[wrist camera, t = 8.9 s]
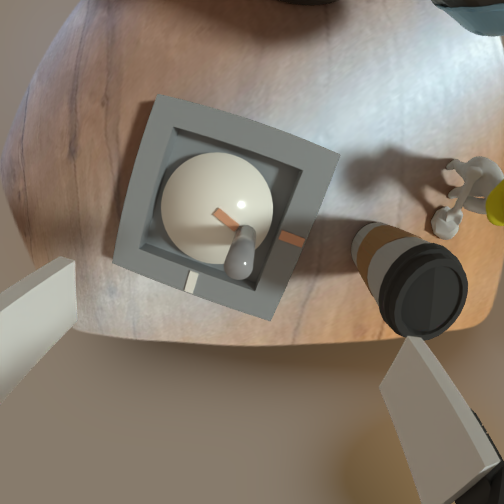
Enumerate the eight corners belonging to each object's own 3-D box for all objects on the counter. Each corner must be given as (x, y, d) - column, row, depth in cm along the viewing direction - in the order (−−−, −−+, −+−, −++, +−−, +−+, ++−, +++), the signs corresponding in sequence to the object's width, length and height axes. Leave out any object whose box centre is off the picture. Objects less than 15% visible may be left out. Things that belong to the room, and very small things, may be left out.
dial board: (167, 99, 30) (157, 93, 26) (333, 155, 31) (341, 154, 28) (123, 254, 36) (111, 263, 32) (270, 308, 37) (270, 322, 34)
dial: (146, 214, 33) (99, 239, 22) (210, 130, 30) (182, 117, 19) (225, 279, 35) (209, 329, 24) (295, 201, 32) (310, 223, 21)
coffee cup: (344, 283, 35) (384, 356, 21) (338, 218, 33) (388, 261, 19) (403, 272, 35) (465, 332, 20) (402, 209, 32) (476, 243, 18)
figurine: (402, 189, 32) (479, 213, 17) (445, 143, 29) (527, 145, 15) (441, 246, 33) (512, 292, 19) (480, 202, 31) (556, 228, 17)
